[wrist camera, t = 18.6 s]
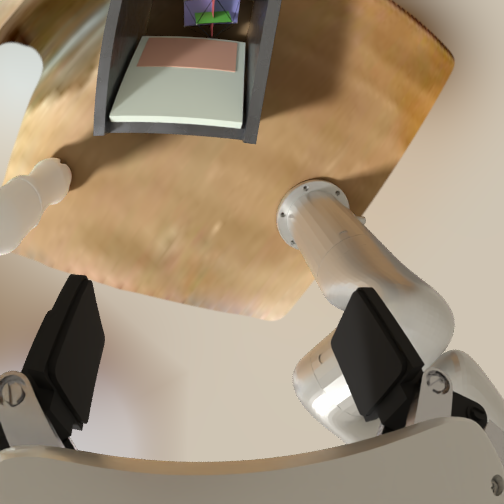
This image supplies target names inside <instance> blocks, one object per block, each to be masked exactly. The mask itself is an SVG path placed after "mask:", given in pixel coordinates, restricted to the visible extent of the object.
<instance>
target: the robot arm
mask: <svg viewBox="0 0 504 504" xmlns="http://www.w3.org/2000/svg"><path fill="white" fill-rule="evenodd" d="M304 186H306V187H305V188H304ZM336 191H337V192H336ZM282 212H283V213H282ZM281 213H282V214H281ZM365 221H366V220H365V217H362V216H355V214H354V213H353V212H352V211H350V207H349V202H348V200H347V197H346V195H345V194H344V193H343V191H342V190H341V189H340V188H339V187H337V186H336V185H335V184H333V183H331V182H328V181H326V180H320V179H316V180H308V181H304V182H302V183H300V184H298V185H296V186H295V187H293V188H292V189H291V190H290V191H289V192H288V193H287V194H286V195H285V196H284V197H283V199H282V200H281V202H280V204H279V207H278V210H277V215H276V223H277V228H278V231H279V233H280V235H281V237H282V238H283V240H284V241H285V242H286V243H287V244H288V245H290V246H291V247H293V248H295V249H298V250H300V252H301V254H302V255H303V257H304V259H305V261H306V263H307V265H308V267H309V268H310V270H311V272H312V274H313V276H314V278H315V280H316V282H317V283H318V285H319V287H320V289H321V291H322V293H323V295H324V296H325V298H326V299H327V300H328V301H329V302H330V303H331V304H332V305H334V306H335V307H337V308H338V309H341V310H343V311H344V313H343V316H342V318H341V320H340V322H339V324H338V326H337V328H336V329H335V330H333V331H332V332H331V333H330V334H329V335H328V336H327V337H325V338H324V339H323V340H322V341H321V342H320V343H319V344H317V345H316V346H315V347H314V348H313V349H312V350H311V351H310V352H308V353H307V354H306V355H305V356H304V357H303V358H302V359H301V360H300V361H299V363H298V364H297V366H296V368H295V370H294V373H293V386H294V390H295V392H296V395H297V397H298V399H299V400H300V402H301V403H302V405H303V406H304V407H305V408H306V410H307V411H308V412H309V413H310V414H311V415H312V416H313V417H314V418H315V419H316V420H317V421H318V422H320V423H321V424H322V425H323V426H325V427H326V428H327V429H328V430H329V431H331V432H332V433H333V434H335V435H336V436H337V437H338V438H340V439H341V440H342V441H343V442H345V443H346V445H342V446H338V447H333V448H328V449H323V450H319V451H314V452H308V453H302V454H296V455H290V456H282V457H274V458H266V459H256V460H243V461H226V462H174V461H157V460H145V459H135V458H125V457H117V456H110V455H103V454H97V453H91V452H85V451H79V450H77V448H76V446H75V445H74V443H73V442H72V440H71V438H70V436H71V433H72V429H77V430H81V431H82V428H83V423H85V424H86V423H87V422H88V419H89V413H90V407H91V402H92V397H93V392H94V387H95V382H96V377H97V373H98V368H99V364H100V360H101V356H102V352H103V347H104V342H105V336H104V332H103V328H102V324H101V320H100V316H99V311H98V307H97V303H96V298H95V293H94V288H93V283H92V281H91V280H88V278H87V276H85V275H74V274H71V275H70V276H69V278H68V279H67V281H66V283H65V285H64V286H63V289H62V290H61V292H60V294H59V296H58V298H57V300H56V302H55V304H54V306H53V308H52V310H50V311H48V312H47V314H46V316H45V318H44V320H43V322H42V324H41V326H40V329H39V330H38V333H37V335H36V337H35V339H34V342H33V344H32V347H31V349H30V351H29V354H28V356H27V358H26V361H25V364H24V366H23V369H22V371H21V372H18V371H8V372H5V373H3V374H2V375H0V504H504V399H503V398H502V396H501V395H500V394H499V392H498V391H497V389H496V388H495V386H494V385H493V384H492V382H491V381H490V380H489V378H488V377H487V375H486V374H485V373H484V372H483V370H482V369H481V368H480V366H479V365H478V364H477V363H476V362H475V361H474V360H473V359H472V358H471V357H470V356H469V355H468V354H466V353H465V352H463V351H460V350H450V351H447V352H445V353H443V352H444V351H445V349H446V348H447V346H448V344H449V343H450V340H451V338H452V336H453V332H454V317H453V313H452V311H451V309H450V307H449V305H448V304H447V302H446V301H445V300H444V299H443V297H442V296H441V295H440V294H439V293H438V292H437V291H436V290H434V289H433V288H432V287H431V286H430V285H428V284H427V283H426V282H425V281H423V280H422V279H420V278H419V277H418V276H417V275H415V274H414V273H413V272H412V271H410V270H409V269H408V268H407V267H406V266H405V265H403V264H402V263H401V262H400V261H399V260H398V259H397V258H396V257H395V256H394V255H393V254H392V253H391V252H390V251H389V250H388V249H387V248H386V247H385V246H384V245H383V244H382V243H381V242H380V241H379V240H378V239H377V238H376V237H375V236H374V235H373V234H372V233H371V232H370V231H369V230H368V229H367V228H366V227H365V226H364V224H365ZM442 353H443V354H442ZM441 354H442V355H441Z"/></svg>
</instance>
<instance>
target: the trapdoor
mask: <svg viewBox="0 0 504 504" xmlns="http://www.w3.org/2000/svg"><path fill="white" fill-rule="evenodd" d="M244 65H245V42H238V41H230V40H221V39H211V38H199V37H181V36H142V38H141V40H140V42H139V44H138V46H137V49H136V51H135V53H134V55H133V57H132V59H131V62H130V64H129V66H128V69H127V71H126V73H125V76H124V78H123V81H122V83H121V86H120V88H119V91H118V93H117V96H116V99H115V101H114V104H113V107H112V110H111V113H110V120H111V122H162V123H183V124H198V125H210V126H220V127H230V128H239V129H241V125H242V119H243V91H244Z"/></svg>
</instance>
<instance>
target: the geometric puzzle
mask: <svg viewBox="0 0 504 504" xmlns="http://www.w3.org/2000/svg"><path fill="white" fill-rule="evenodd" d="M239 6H240V0H186V1H185V0H184V27H186V28H187V27H188V26H198V27H199V26H202V25H207V24H208V25H209V29H210V33H211V37H210V36H209V35H208V34H207V33H206V32H205V31H204V30H203V29H202V28H201V27H200V28H201V29H202V30H203V31H204V32H205V33H206V34H207V35H208V36H209V37H210V38H211V39H212V35H213V25H216V24H229V25H230V24H234V23H236V24H237V21H238V13H239ZM229 25H228V26H229ZM228 26H227V27H228ZM231 27H232V26H231ZM224 29H225V28H224ZM224 29H223V30H224ZM228 29H229V28H228ZM191 30H192V29H191ZM223 30H222V31H223ZM193 31H194V30H193ZM200 34H201V33H200ZM218 34H219V33H218ZM218 34H217V35H216V36H218ZM202 35H203V34H202ZM204 36H205V35H204ZM216 36H215V37H216ZM215 37H214V38H215Z"/></svg>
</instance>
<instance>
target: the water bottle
mask: <svg viewBox="0 0 504 504" xmlns="http://www.w3.org/2000/svg"><path fill="white" fill-rule="evenodd" d="M60 161H61V160H60V159H58V158H47V159H44V160H42V161H40V162H38V163H37V164H36V165H35V167H34V168H33V169H32V171H31V172H30V174H29V175H20V176H16V177H14V178H12V179H11V180H9V181H8V182H7V183H6V184H5V185H4V186H2V187H1V188H0V255H4V254H7V253H9V252H11V251H13V250H14V249H15V248H17V247H18V246H19V244H20V243H21V241H22V240H23V239H24V237H25V236H26V235H27V234H28V233H29V232H30V231H31V230H32V229H33V228H34V227H36V226H37V225H38V223H39V221H40V218H41V216H42V215H43V213H44V211H45V210H46V208H47V207H48V206H49V205H52V204H56V203H59V202H60V201H61V200H63V198H64V197H65V196H66V195H67V193H68V191H69V185H70V183H71V178H72V175H71V171H70V168H69V167H68V166H67V165H66V164H61V163H60Z"/></svg>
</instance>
